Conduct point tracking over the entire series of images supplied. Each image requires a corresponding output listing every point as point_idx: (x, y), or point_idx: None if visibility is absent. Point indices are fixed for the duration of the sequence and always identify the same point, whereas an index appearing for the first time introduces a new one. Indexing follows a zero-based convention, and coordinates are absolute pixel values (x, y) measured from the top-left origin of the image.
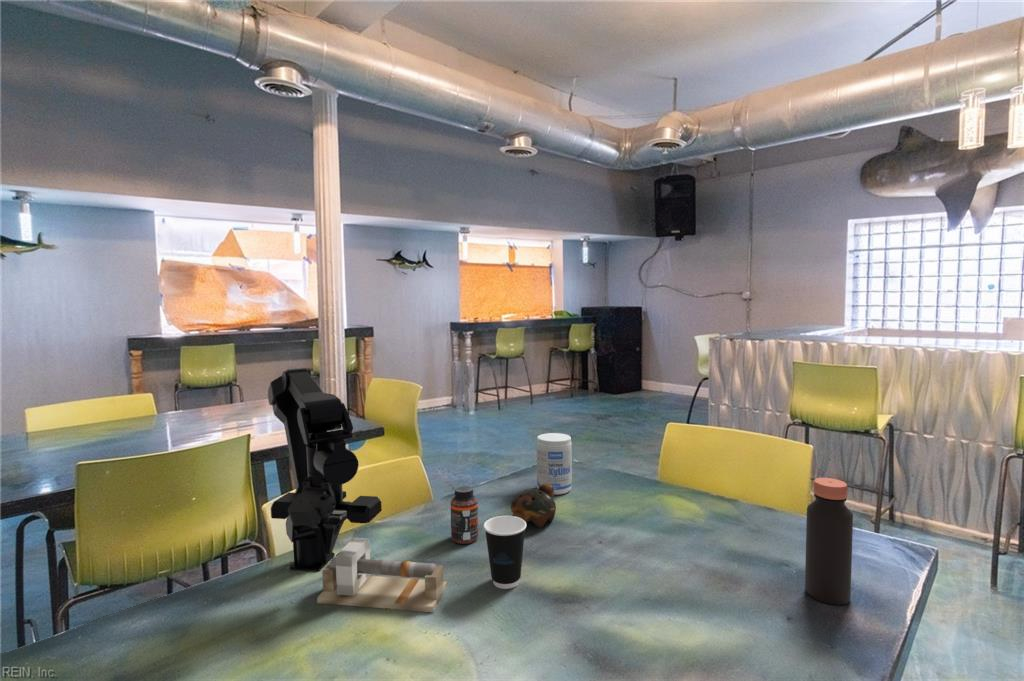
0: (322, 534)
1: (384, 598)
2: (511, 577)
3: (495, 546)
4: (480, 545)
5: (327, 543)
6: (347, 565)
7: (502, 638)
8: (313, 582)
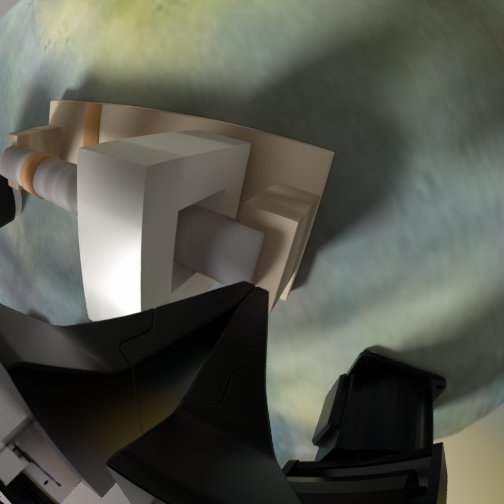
0: (205, 364)
1: (123, 126)
2: None
3: None
4: (62, 318)
5: (211, 308)
6: (130, 144)
7: (11, 56)
8: (374, 293)
